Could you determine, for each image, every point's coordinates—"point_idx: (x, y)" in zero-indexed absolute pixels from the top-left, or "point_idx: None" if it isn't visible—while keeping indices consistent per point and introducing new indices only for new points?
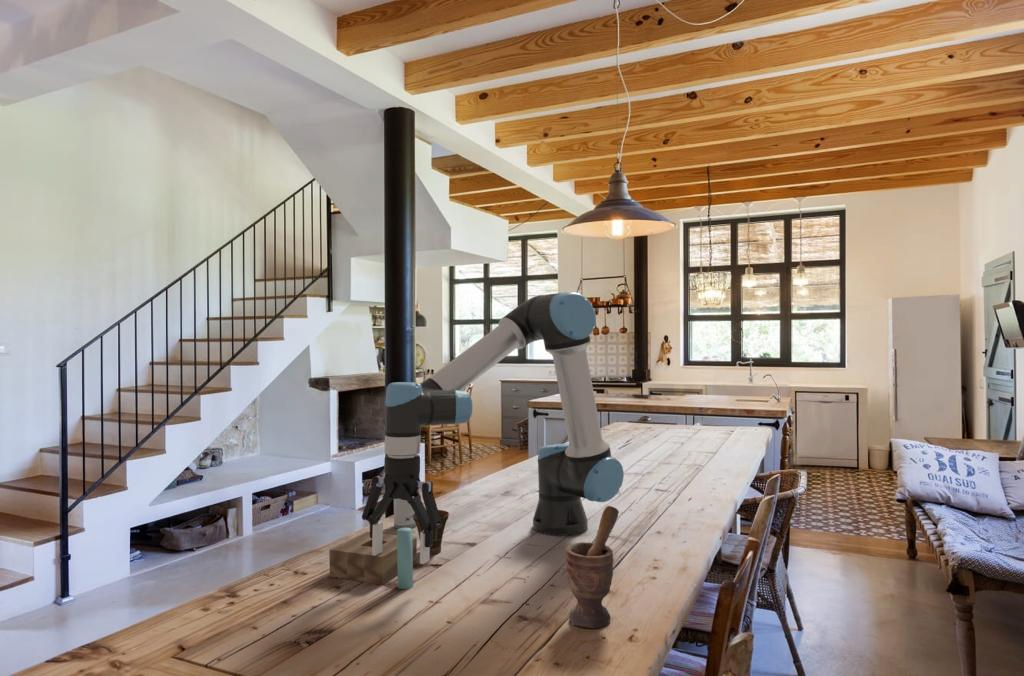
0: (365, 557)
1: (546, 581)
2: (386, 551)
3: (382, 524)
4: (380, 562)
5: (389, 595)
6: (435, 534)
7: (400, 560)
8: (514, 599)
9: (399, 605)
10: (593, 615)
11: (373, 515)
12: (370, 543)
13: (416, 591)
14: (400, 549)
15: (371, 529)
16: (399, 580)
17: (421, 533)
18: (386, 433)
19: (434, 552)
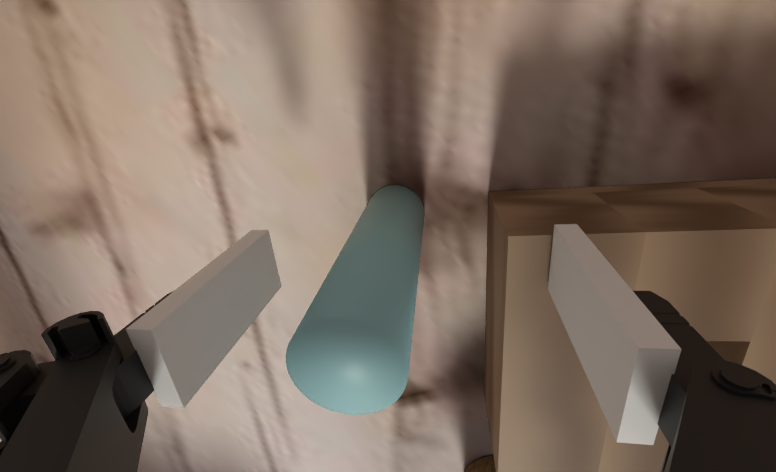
0: (626, 225)
1: None
2: (534, 309)
3: (608, 420)
4: (515, 223)
5: (397, 114)
6: None
7: (377, 225)
8: (40, 251)
9: (296, 45)
10: None
11: (752, 450)
12: None
13: (328, 189)
14: (366, 251)
15: (678, 334)
16: (398, 195)
17: (146, 324)
18: None
19: (472, 466)
